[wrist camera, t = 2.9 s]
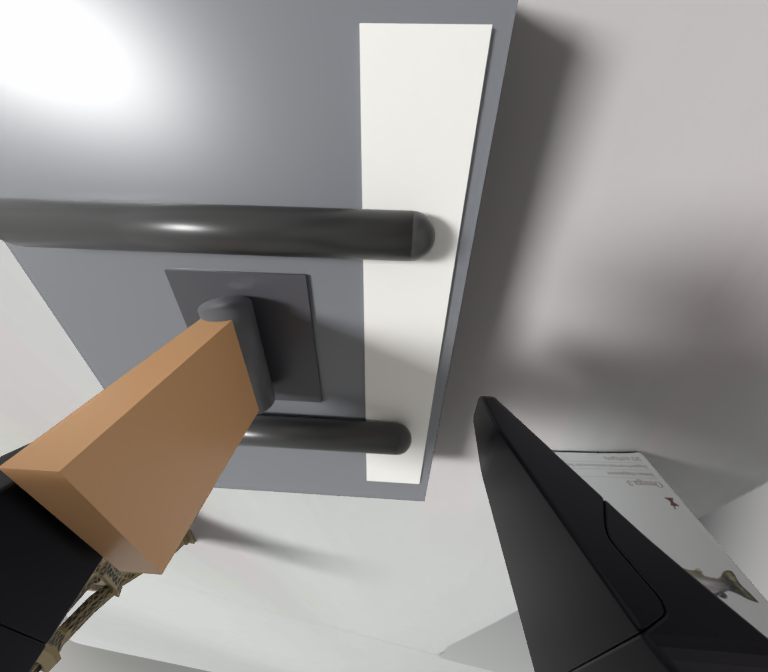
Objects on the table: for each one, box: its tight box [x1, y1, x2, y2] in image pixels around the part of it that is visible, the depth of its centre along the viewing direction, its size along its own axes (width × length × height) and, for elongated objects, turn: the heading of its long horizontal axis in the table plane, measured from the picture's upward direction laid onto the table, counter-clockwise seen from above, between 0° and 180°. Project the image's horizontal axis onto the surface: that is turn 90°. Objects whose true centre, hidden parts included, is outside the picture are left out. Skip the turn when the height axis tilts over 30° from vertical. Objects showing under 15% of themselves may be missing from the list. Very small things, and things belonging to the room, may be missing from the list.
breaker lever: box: [0, 296, 275, 575], centre depth 8 cm, size 2×4×6 cm, turn 179°
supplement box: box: [554, 452, 768, 638], centre depth 16 cm, size 7×7×13 cm
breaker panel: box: [0, 0, 518, 501], centre depth 12 cm, size 16×22×5 cm
